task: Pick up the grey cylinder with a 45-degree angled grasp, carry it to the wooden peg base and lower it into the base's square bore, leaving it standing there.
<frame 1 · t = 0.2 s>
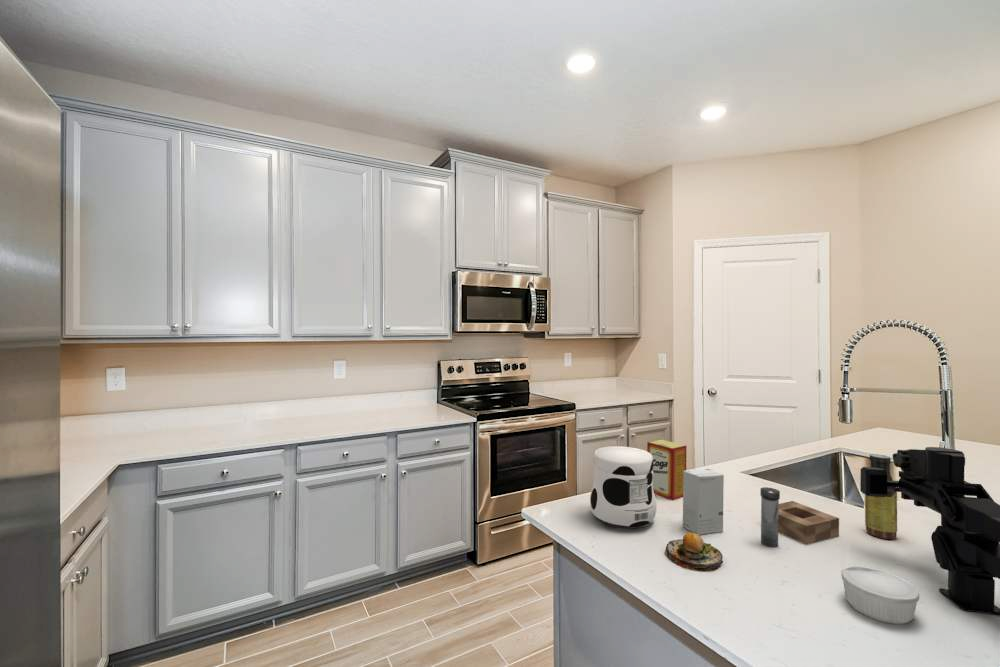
hand: (886, 473, 110), 17 cm above the countertop, tool horizontal, fingers open, 9 cm apart
baking soda box: (666, 494, 142), on the countertop
sauce bottle: (880, 535, 114), on the countertop
milk container: (622, 520, 123), on the countertop
skincare box: (702, 529, 117), on the countertop
grey cylinder: (769, 543, 109), on the countertop
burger: (693, 559, 103), on the countertop
wooden peg base: (798, 529, 116), on the countertop
ramekin: (878, 610, 84), on the countertop
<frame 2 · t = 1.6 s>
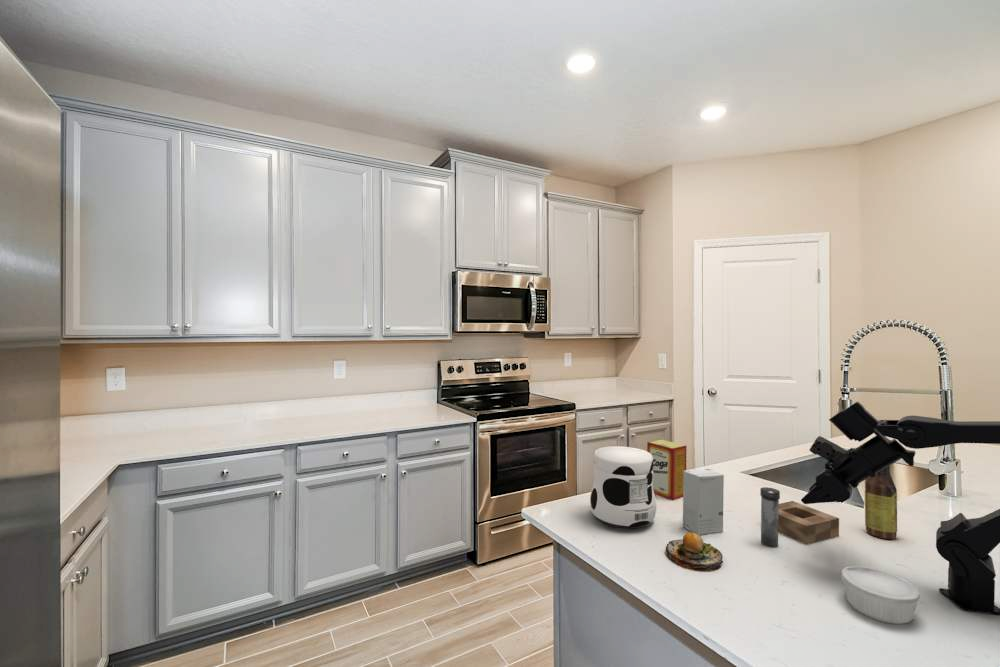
hand: (806, 496, 104), 13 cm above the countertop, tool tilted 45°, fingers open, 9 cm apart
nothing on the countertop moved.
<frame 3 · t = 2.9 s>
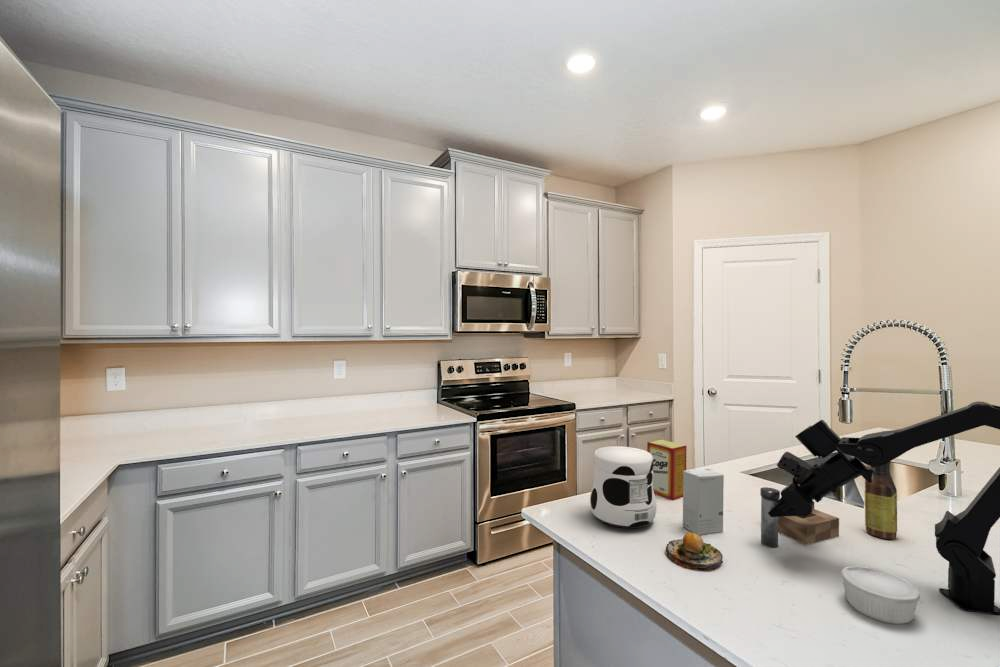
hand: (774, 509, 108), 9 cm above the countertop, tool tilted 45°, fingers open, 9 cm apart
nothing on the countertop moved.
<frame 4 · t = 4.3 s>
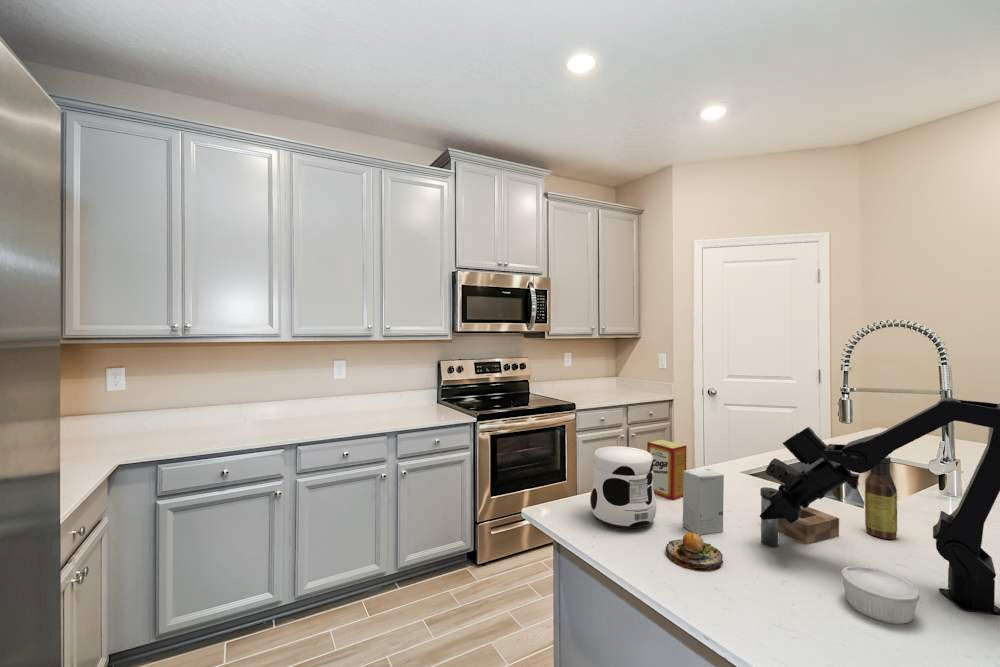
hand: (763, 515, 110), 7 cm above the countertop, tool tilted 45°, fingers closed on grey cylinder, 4 cm apart
grey cylinder: (769, 543, 109), on the countertop, touching gripper
everything else where it was.
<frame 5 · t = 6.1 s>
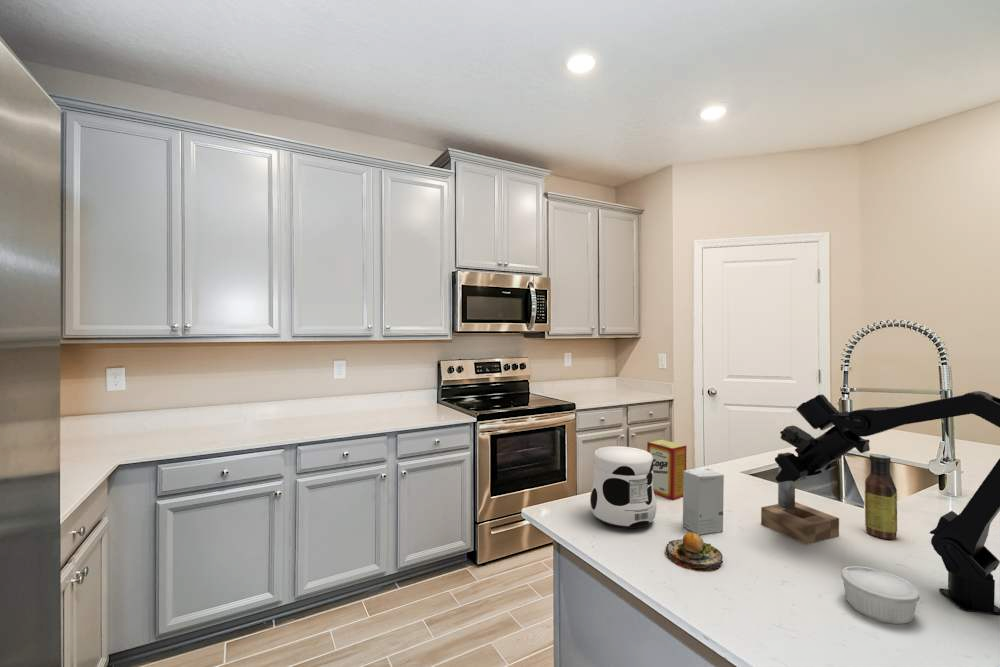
hand: (781, 479, 115), 13 cm above the countertop, tool tilted 45°, fingers closed on grey cylinder, 4 cm apart
grey cylinder: (786, 506, 114), point 7 cm above the countertop, touching gripper
everything else where it was.
when the fingers open (7 cm above the countertop, at t = 8.2 s): grey cylinder stays where it is, resting in wooden peg base.
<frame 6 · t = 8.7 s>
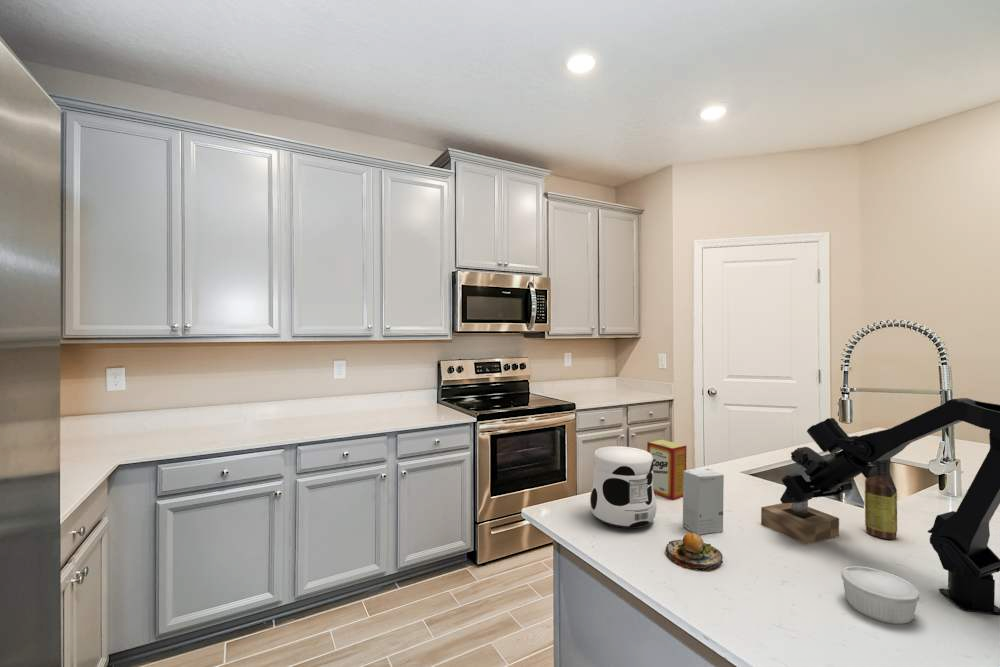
hand: (793, 498, 118), 8 cm above the countertop, tool tilted 45°, fingers open, 9 cm apart
grey cylinder: (798, 530, 116), resting in wooden peg base
everything else where it was.
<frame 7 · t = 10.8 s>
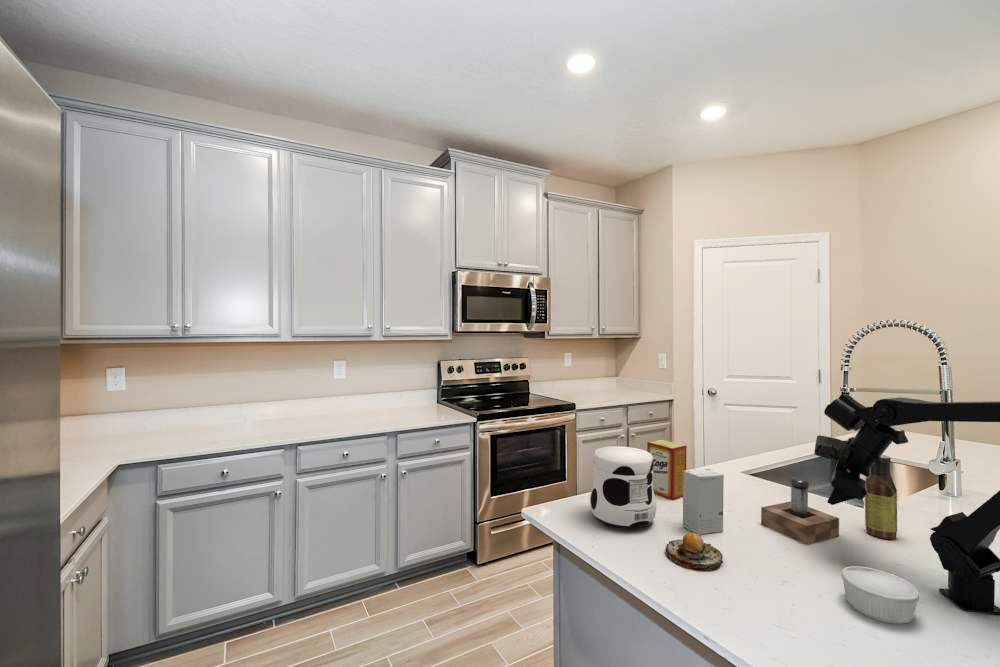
hand: (831, 492, 109), 12 cm above the countertop, tool tilted 30°, fingers open, 9 cm apart
nothing on the countertop moved.
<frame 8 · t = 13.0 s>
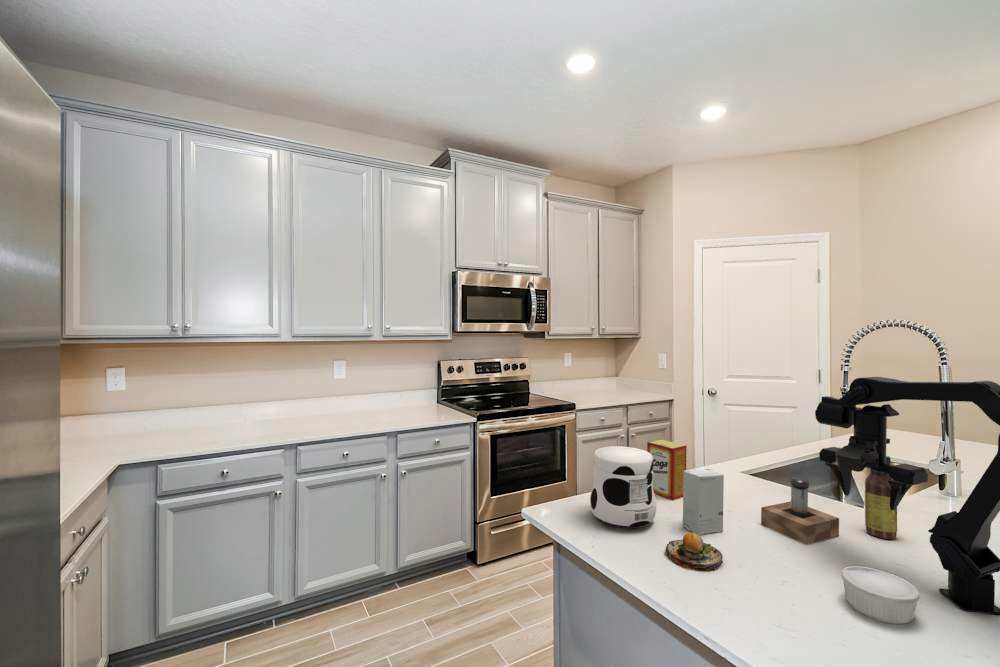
hand: (868, 502, 101), 13 cm above the countertop, tool pointing down, fingers open, 9 cm apart
nothing on the countertop moved.
at the end: grey cylinder 0.0 cm off-centre on the wooden peg base, point 0.0 cm above the wooden peg base's base; grey cylinder tilted 0°; the gripper is holding nothing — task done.
